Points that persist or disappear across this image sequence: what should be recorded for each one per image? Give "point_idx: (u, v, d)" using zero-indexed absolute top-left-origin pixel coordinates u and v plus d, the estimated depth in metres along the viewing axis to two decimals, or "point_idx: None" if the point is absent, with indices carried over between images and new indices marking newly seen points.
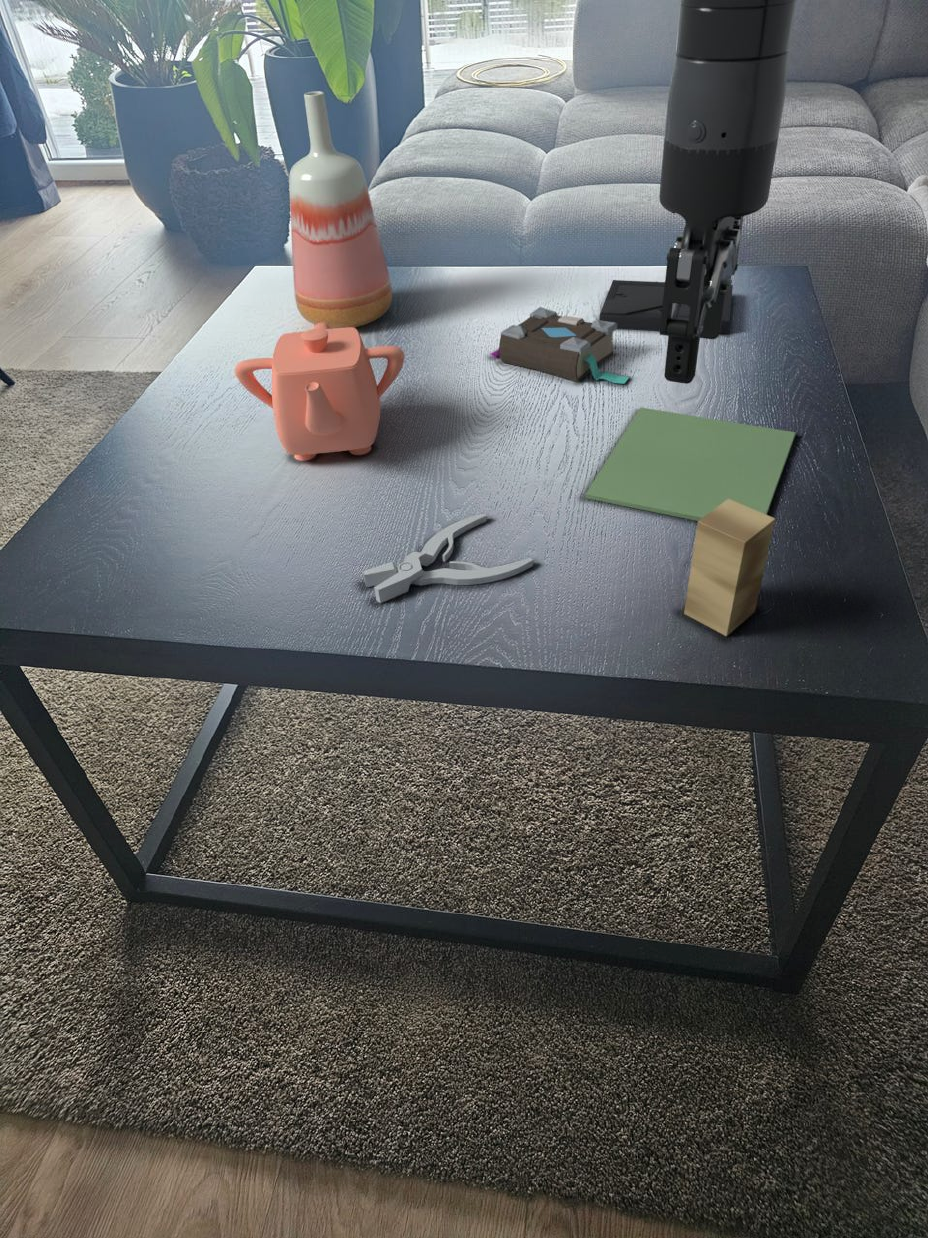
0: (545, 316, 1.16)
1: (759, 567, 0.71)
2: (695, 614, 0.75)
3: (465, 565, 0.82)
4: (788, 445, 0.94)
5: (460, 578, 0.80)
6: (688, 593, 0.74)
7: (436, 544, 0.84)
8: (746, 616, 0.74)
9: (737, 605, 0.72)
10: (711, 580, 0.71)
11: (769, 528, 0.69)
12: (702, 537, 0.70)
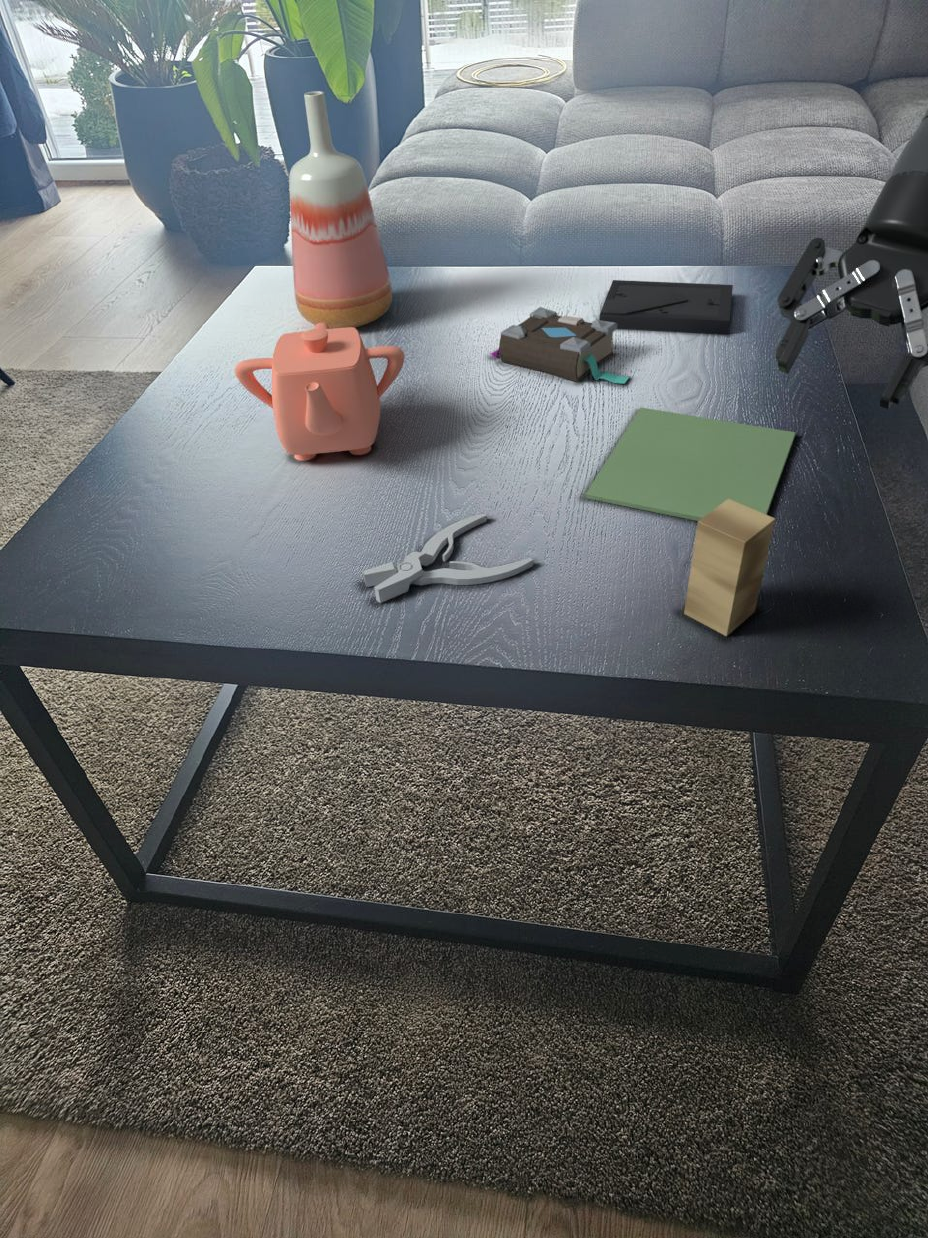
0: (545, 316, 1.16)
1: (759, 567, 0.71)
2: (695, 614, 0.75)
3: (465, 565, 0.82)
4: (788, 445, 0.94)
5: (460, 578, 0.80)
6: (688, 593, 0.74)
7: (436, 544, 0.84)
8: (746, 616, 0.74)
9: (737, 605, 0.72)
10: (711, 580, 0.71)
11: (769, 528, 0.69)
12: (702, 537, 0.70)
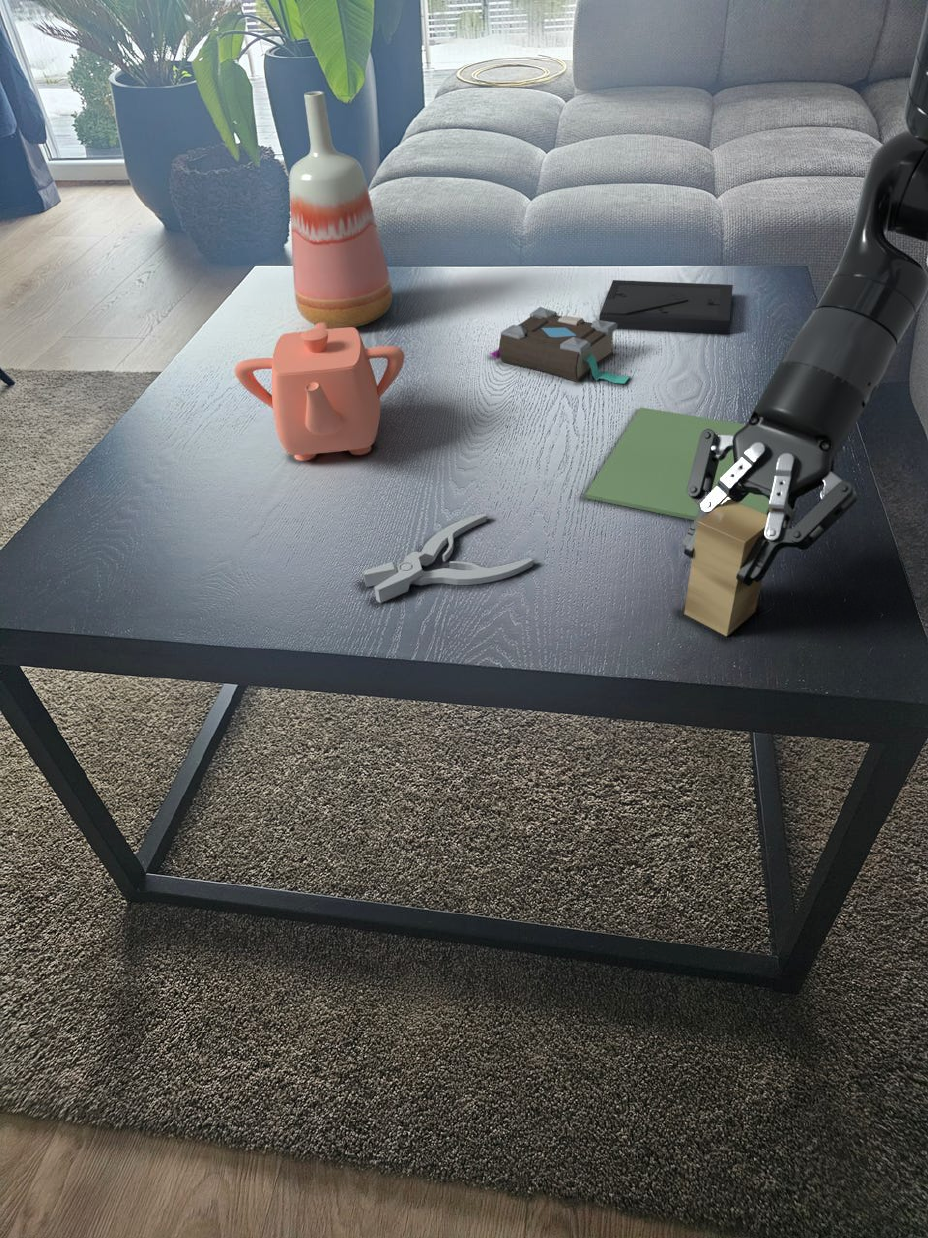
0: (545, 316, 1.16)
1: None
2: (695, 615, 0.75)
3: (465, 565, 0.82)
4: None
5: (460, 578, 0.80)
6: (688, 593, 0.74)
7: (436, 544, 0.84)
8: (746, 616, 0.74)
9: (737, 605, 0.72)
10: (712, 580, 0.71)
11: None
12: (702, 537, 0.70)
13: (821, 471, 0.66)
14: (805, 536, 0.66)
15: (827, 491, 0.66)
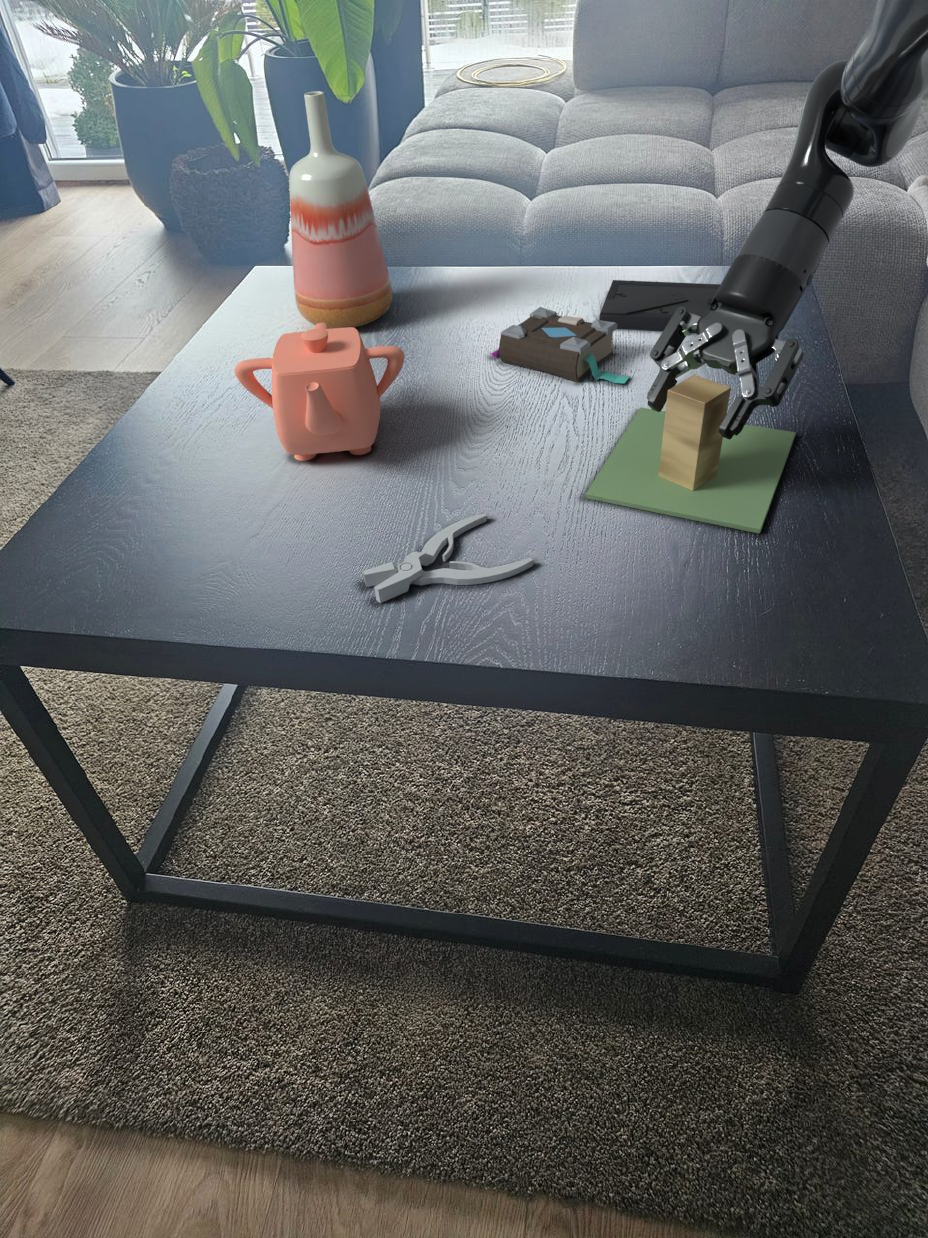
0: (545, 316, 1.16)
1: None
2: (667, 475, 0.90)
3: (465, 565, 0.82)
4: (788, 445, 0.94)
5: (460, 578, 0.80)
6: (661, 456, 0.90)
7: (436, 544, 0.84)
8: (709, 476, 0.90)
9: (701, 462, 0.87)
10: (680, 442, 0.87)
11: (726, 395, 0.85)
12: (671, 404, 0.85)
13: (766, 342, 0.82)
14: (775, 389, 0.80)
15: (779, 351, 0.81)
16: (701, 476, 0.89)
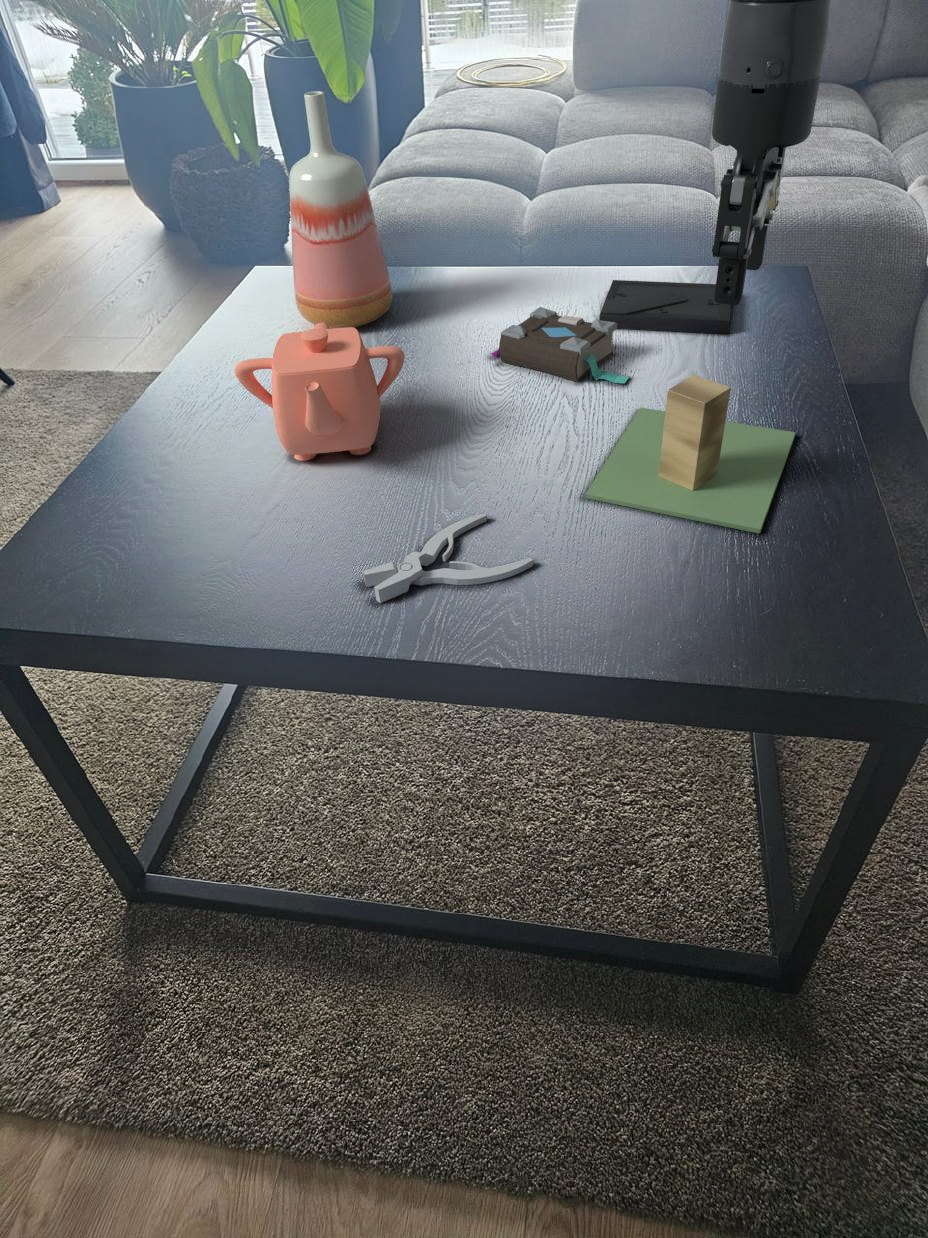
0: (545, 316, 1.16)
1: (719, 430, 0.87)
2: (667, 475, 0.90)
3: (465, 565, 0.82)
4: (788, 445, 0.94)
5: (460, 578, 0.80)
6: (661, 456, 0.90)
7: (436, 544, 0.84)
8: (709, 476, 0.90)
9: (701, 462, 0.87)
10: (680, 442, 0.87)
11: (726, 395, 0.85)
12: (671, 404, 0.85)
13: None
14: (714, 246, 0.68)
15: None
16: (701, 476, 0.89)
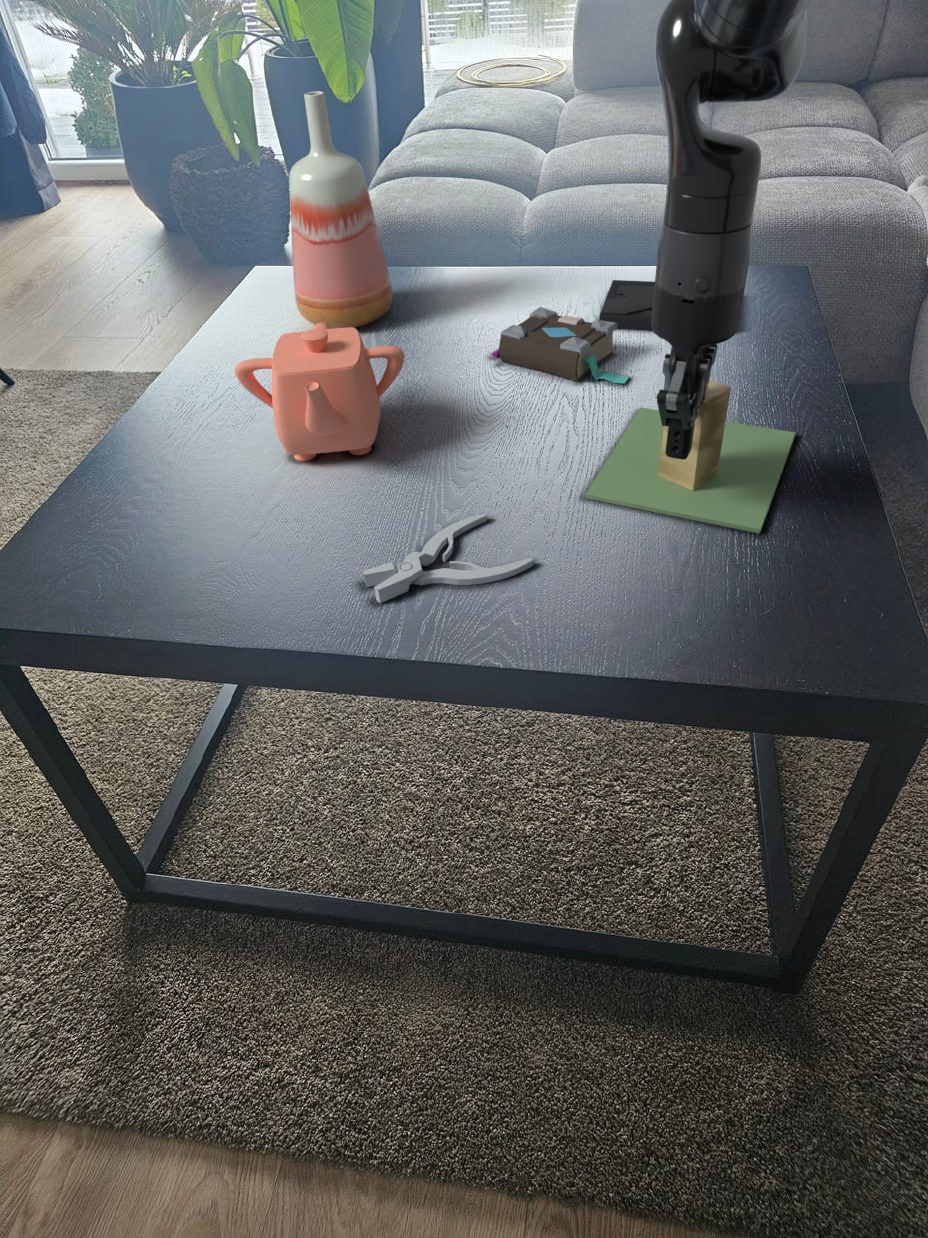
0: (545, 316, 1.16)
1: (719, 430, 0.87)
2: (667, 475, 0.90)
3: (465, 565, 0.82)
4: (788, 445, 0.94)
5: (460, 578, 0.80)
6: (661, 456, 0.90)
7: (436, 544, 0.84)
8: (709, 476, 0.90)
9: (701, 462, 0.87)
10: None
11: (726, 395, 0.85)
12: None
13: (668, 370, 0.75)
14: (662, 423, 0.79)
15: None
16: (701, 476, 0.89)
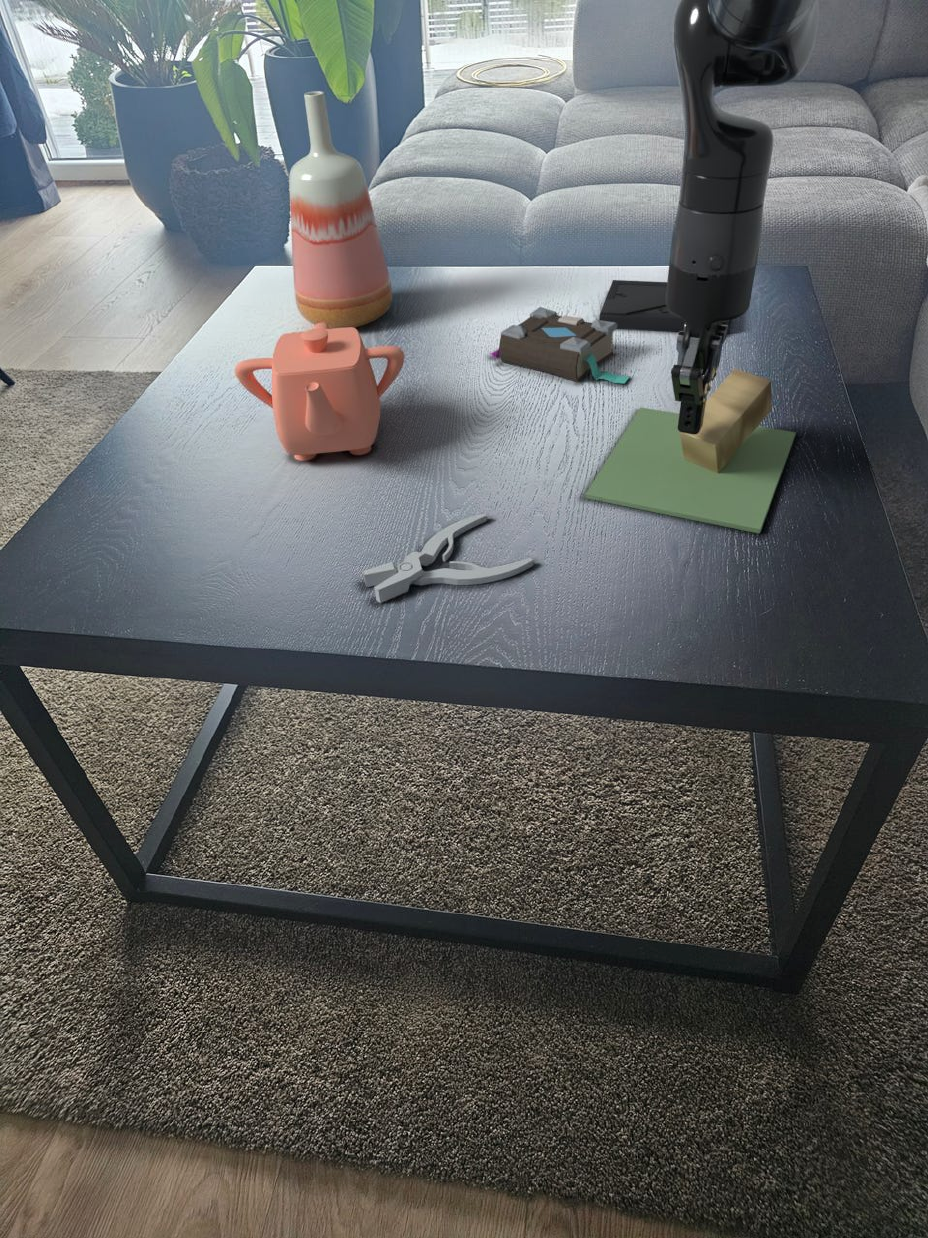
0: (545, 316, 1.16)
1: (748, 430, 0.92)
2: None
3: (465, 565, 0.82)
4: (788, 445, 0.94)
5: (460, 578, 0.80)
6: None
7: (436, 544, 0.84)
8: (719, 461, 0.90)
9: (732, 431, 0.89)
10: (724, 406, 0.90)
11: (768, 409, 0.93)
12: (733, 378, 0.92)
13: (682, 346, 0.78)
14: (675, 398, 0.82)
15: None
16: (722, 446, 0.89)
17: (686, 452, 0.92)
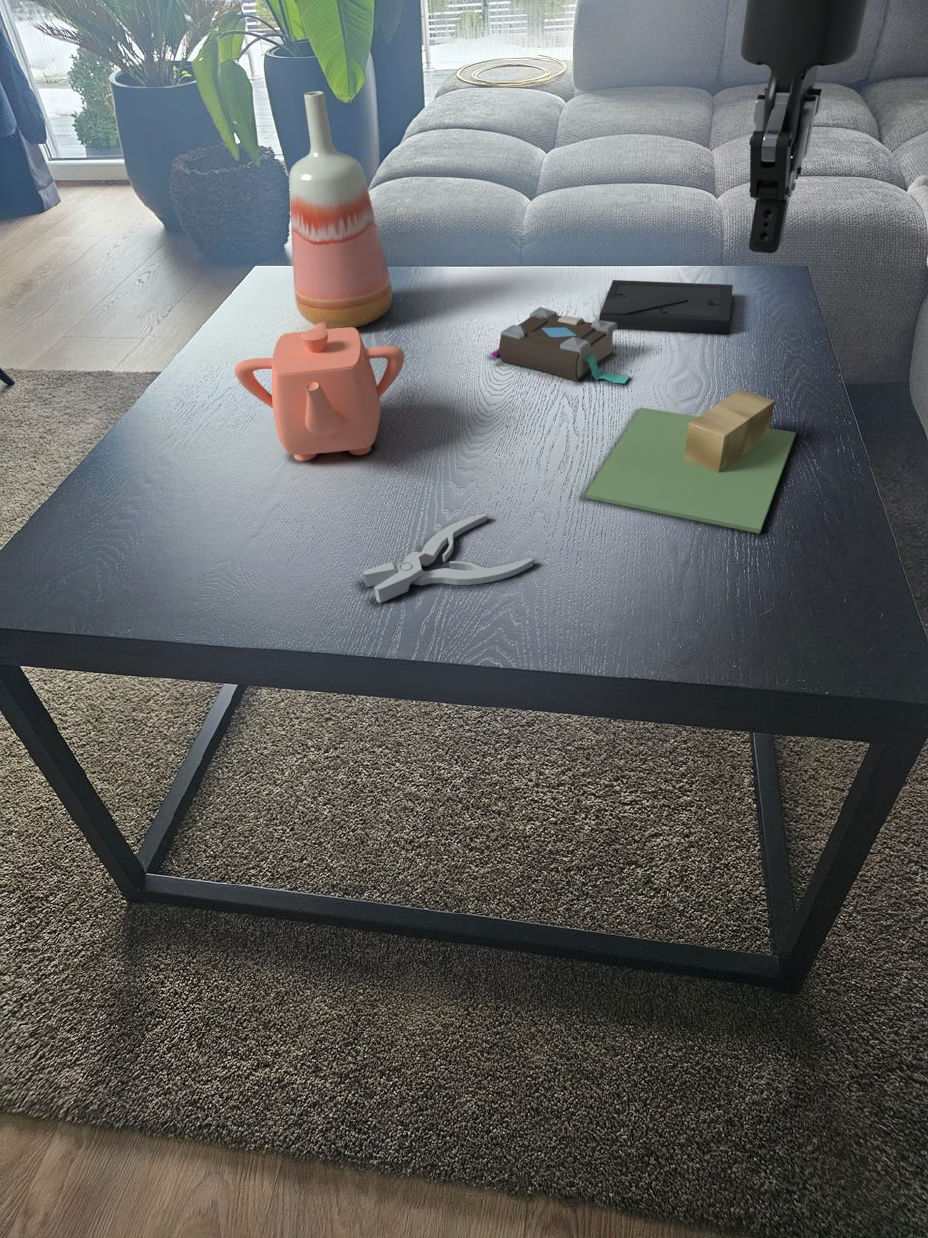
0: (545, 316, 1.16)
1: (748, 443, 0.93)
2: (701, 424, 0.90)
3: (465, 565, 0.82)
4: (788, 445, 0.94)
5: (460, 578, 0.80)
6: (702, 414, 0.92)
7: (436, 544, 0.84)
8: (722, 459, 0.90)
9: (739, 432, 0.90)
10: (732, 411, 0.92)
11: (766, 432, 0.95)
12: (738, 394, 0.95)
13: (764, 106, 0.58)
14: (751, 192, 0.62)
15: None
16: (729, 442, 0.90)
17: (689, 450, 0.93)
